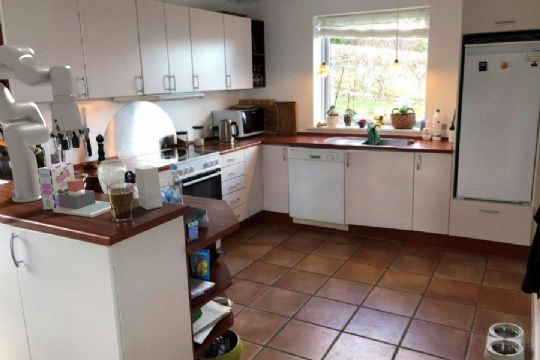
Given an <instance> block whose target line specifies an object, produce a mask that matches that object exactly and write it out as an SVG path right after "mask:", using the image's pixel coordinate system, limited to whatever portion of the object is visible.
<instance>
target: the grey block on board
mask: <svg viewBox="0 0 540 360" xmlns="http://www.w3.org/2000/svg"><path fill="white" fill-rule="evenodd" d="M95 195H96V194H95V190H90V189H89V190H88V189H85V193H84V194H80V195H77V196H73V195H68V192H66V193H63V194H60V195H59V200H60V207H59V208H56V209H53V210H52V211H53V213H57V214H59V213H60V214H66V215H72V216H82V217H87V218H95V217H97V216H100V215H102V214H105V213H108V212H110V211H112V210H111V205H110V202H109V201H100V200H96V196H95Z"/></svg>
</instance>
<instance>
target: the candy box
mask: <svg viewBox="0 0 540 360" xmlns="http://www.w3.org/2000/svg"><path fill="white" fill-rule="evenodd" d="M37 168H38V167H37ZM38 175H39V183H40V190H41V197H42V199H41V203H42V210H46V211H53V209H56V208H59V207H60V200H59V195H60V194H63V193H66V192H68V185H67V181H69V180H73V179H76V176H75V175H76V174H75V168H74V162H72V161H71V162H67V161H65V162H58V163H54V164H51V165H47V166H44V167H39V168H38Z"/></svg>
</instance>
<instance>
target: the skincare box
mask: <svg viewBox="0 0 540 360" xmlns="http://www.w3.org/2000/svg"><path fill="white" fill-rule="evenodd" d="M134 173H135V179H136V188H137V197H138V204H139V207H140V208H141V207H142V208H143V209H145V210H154V209H157V208H162V207H163V200H162V192H161V191H162V190H161V185H160V176H159V169H158V166H155V165H151V164H146V165H142V166H136V167H134Z"/></svg>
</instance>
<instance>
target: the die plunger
mask: <svg viewBox="0 0 540 360" xmlns="http://www.w3.org/2000/svg"><path fill="white" fill-rule="evenodd" d="M67 185H68V195H73V196H77V195H80V194H84V193H85V190H86V189H85V185H84V179H83V178H82V179H81V178H75V179H73V180H69V181H67Z"/></svg>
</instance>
